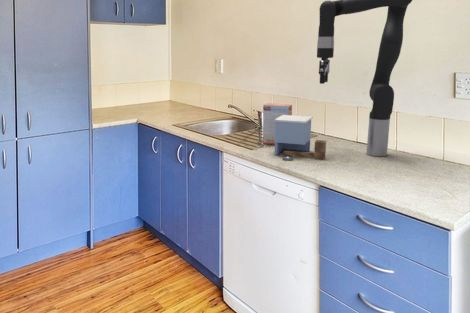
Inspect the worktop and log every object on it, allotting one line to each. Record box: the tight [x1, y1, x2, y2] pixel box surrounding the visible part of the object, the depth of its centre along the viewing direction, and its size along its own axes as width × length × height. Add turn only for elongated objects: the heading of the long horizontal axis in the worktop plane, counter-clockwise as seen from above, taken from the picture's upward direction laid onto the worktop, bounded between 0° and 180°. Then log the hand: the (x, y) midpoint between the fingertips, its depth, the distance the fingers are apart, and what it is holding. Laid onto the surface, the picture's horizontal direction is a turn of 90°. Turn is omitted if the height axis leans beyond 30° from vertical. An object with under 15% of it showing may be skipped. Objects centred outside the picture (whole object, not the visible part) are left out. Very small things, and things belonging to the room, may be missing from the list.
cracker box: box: [262, 102, 293, 146], centre depth 223 cm, size 14×6×21 cm, turn 59°
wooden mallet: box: [282, 139, 327, 161], centre depth 199 cm, size 19×4×8 cm, turn 69°
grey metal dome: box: [281, 155, 294, 162], centre depth 195 cm, size 5×5×2 cm
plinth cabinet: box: [274, 114, 313, 156], centre depth 206 cm, size 15×15×17 cm
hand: (323, 82), depth 202 cm, fingers open, 8 cm apart
